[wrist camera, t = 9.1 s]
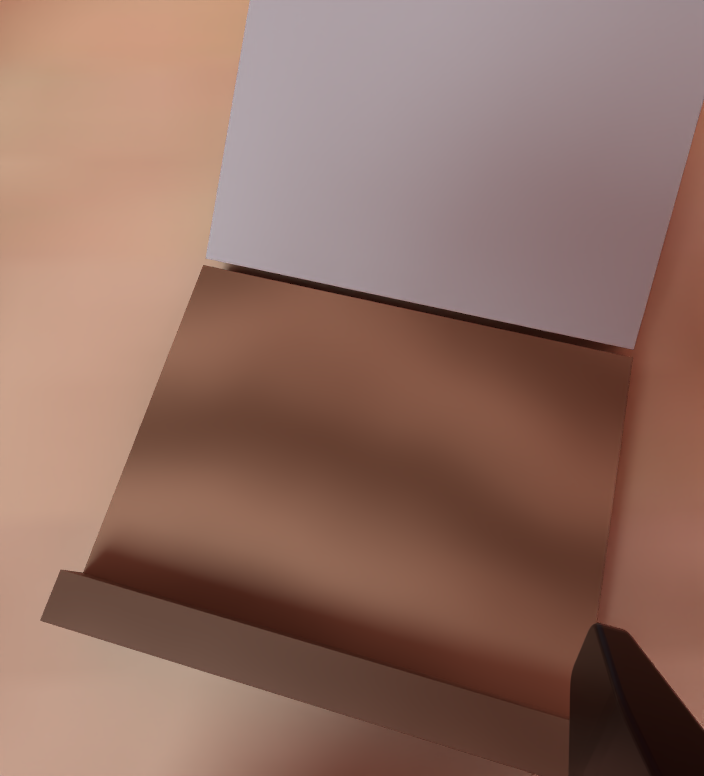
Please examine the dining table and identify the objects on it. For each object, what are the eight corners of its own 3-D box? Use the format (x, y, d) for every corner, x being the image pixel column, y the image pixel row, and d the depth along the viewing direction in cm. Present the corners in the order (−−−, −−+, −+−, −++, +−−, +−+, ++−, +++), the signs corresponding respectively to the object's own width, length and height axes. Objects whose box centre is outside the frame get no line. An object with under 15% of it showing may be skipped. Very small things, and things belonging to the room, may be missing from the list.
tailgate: (634, 349, 22) (742, -36, 20) (204, 258, 24) (264, -98, 22) (621, 347, 24) (720, -8, 22) (221, 261, 26) (279, -68, 24)
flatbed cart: (562, 766, 19) (591, 791, 17) (85, 620, 22) (40, 620, 19) (618, 373, 24) (649, 340, 21) (213, 284, 26) (191, 243, 23)
